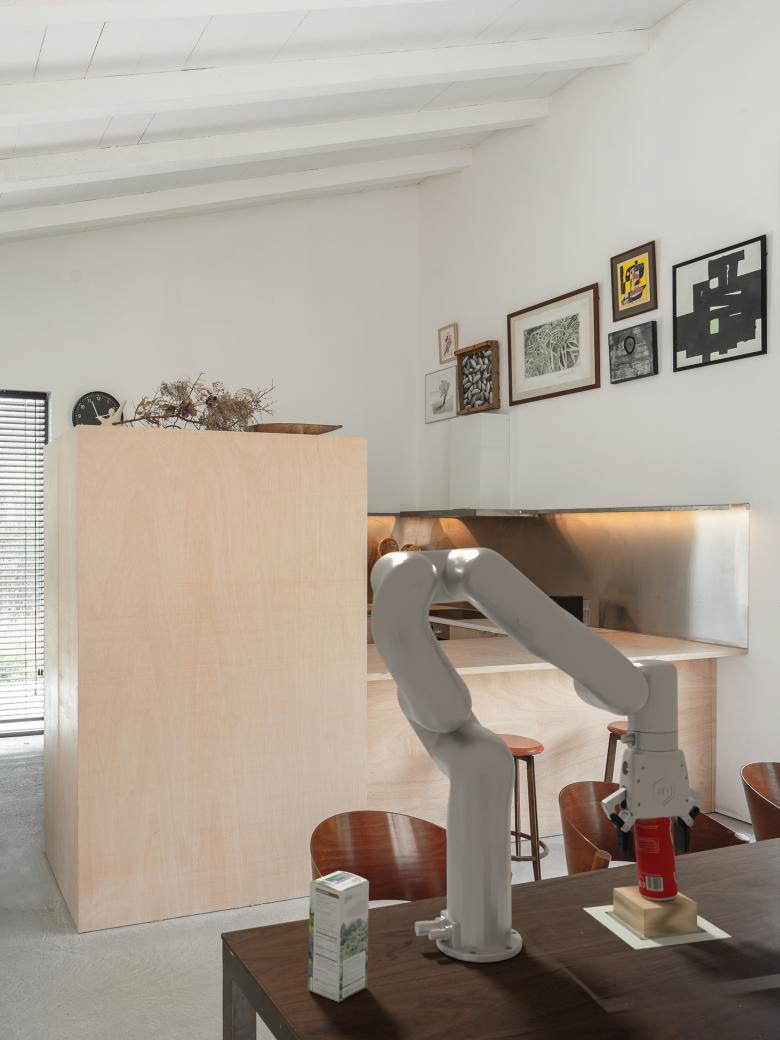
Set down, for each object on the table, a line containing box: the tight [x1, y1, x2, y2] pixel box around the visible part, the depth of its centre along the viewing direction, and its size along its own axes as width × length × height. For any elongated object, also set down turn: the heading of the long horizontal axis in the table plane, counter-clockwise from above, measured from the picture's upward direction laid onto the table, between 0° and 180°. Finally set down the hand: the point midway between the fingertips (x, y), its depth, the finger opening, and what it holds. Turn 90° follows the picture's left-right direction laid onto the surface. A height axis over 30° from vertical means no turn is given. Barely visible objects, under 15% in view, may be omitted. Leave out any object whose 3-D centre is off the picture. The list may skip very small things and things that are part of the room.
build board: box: [582, 904, 732, 951], centre depth 143 cm, size 16×16×1 cm
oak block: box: [612, 885, 698, 937], centre depth 144 cm, size 9×9×4 cm
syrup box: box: [307, 870, 370, 1003], centre depth 124 cm, size 6×6×14 cm
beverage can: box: [633, 818, 679, 901], centre depth 144 cm, size 6×6×15 cm
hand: (653, 852), depth 144 cm, fingers open, 9 cm apart
